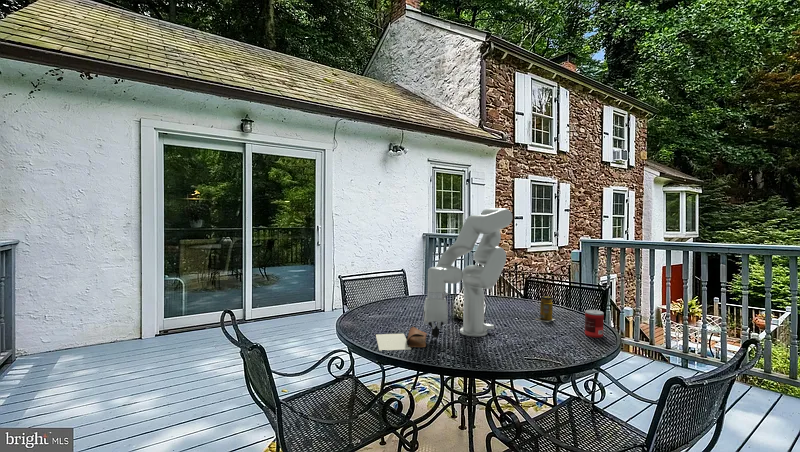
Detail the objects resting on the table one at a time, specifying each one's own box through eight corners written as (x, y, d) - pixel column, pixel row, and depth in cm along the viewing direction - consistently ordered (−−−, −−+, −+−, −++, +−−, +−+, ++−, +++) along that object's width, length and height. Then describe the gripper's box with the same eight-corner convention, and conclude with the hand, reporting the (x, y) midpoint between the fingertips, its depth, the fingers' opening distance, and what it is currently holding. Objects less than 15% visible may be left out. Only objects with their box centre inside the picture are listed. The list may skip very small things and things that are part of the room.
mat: (403, 333, 182) (403, 333, 182) (411, 349, 162) (411, 349, 162) (375, 334, 181) (375, 334, 181) (379, 350, 160) (379, 350, 160)
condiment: (555, 319, 208) (555, 296, 208) (548, 322, 203) (548, 299, 202) (542, 316, 214) (542, 294, 213) (534, 319, 208) (535, 297, 207)
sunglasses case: (427, 346, 163) (419, 332, 163) (412, 354, 164) (404, 340, 164) (427, 333, 181) (420, 320, 181) (414, 340, 182) (407, 328, 182)
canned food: (602, 334, 184) (603, 310, 183) (603, 339, 176) (604, 314, 176) (584, 331, 187) (585, 308, 186) (584, 336, 180) (585, 312, 179)
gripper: (450, 293, 178) (449, 333, 178) (417, 293, 176) (417, 334, 176) (455, 296, 170) (454, 339, 171) (420, 297, 168) (420, 340, 169)
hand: (435, 336), depth 174 cm, fingers closed
